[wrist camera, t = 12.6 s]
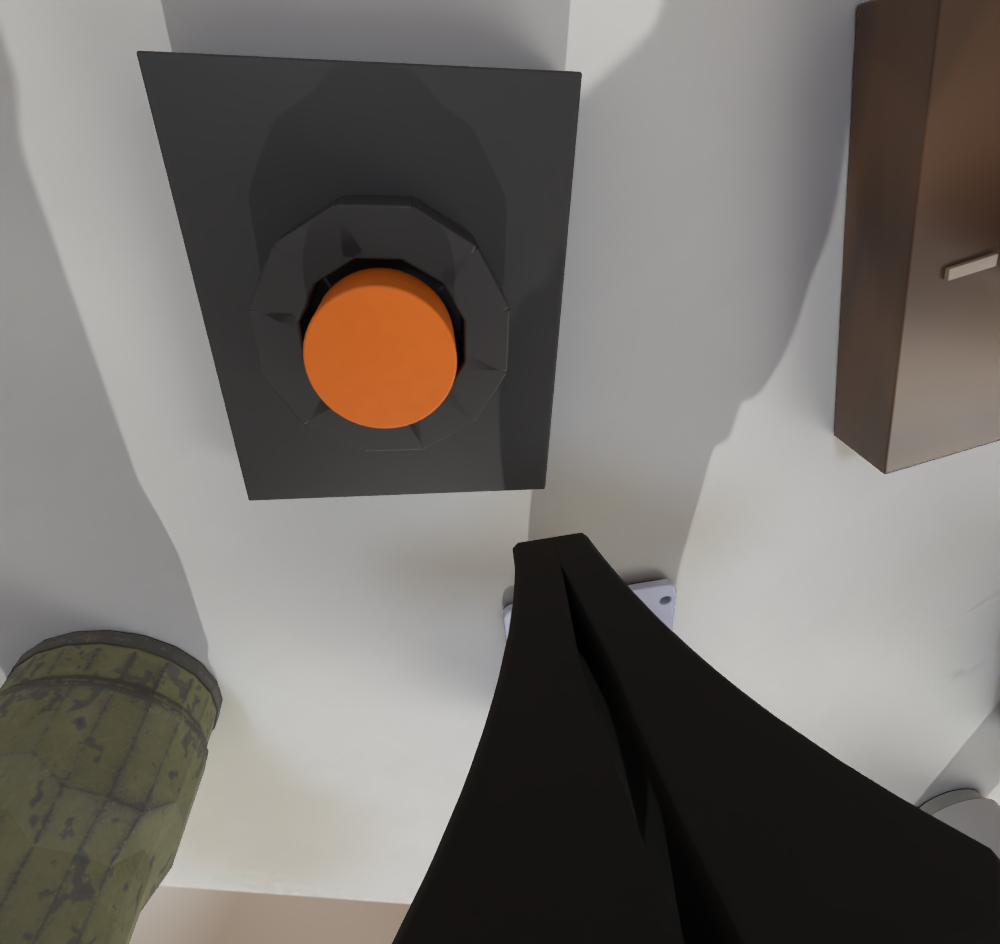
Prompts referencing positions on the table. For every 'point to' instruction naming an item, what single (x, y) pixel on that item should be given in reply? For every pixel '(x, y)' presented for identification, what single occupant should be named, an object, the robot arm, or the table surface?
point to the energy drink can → (968, 815)
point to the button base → (373, 251)
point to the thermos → (96, 781)
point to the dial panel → (922, 234)
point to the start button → (381, 349)
